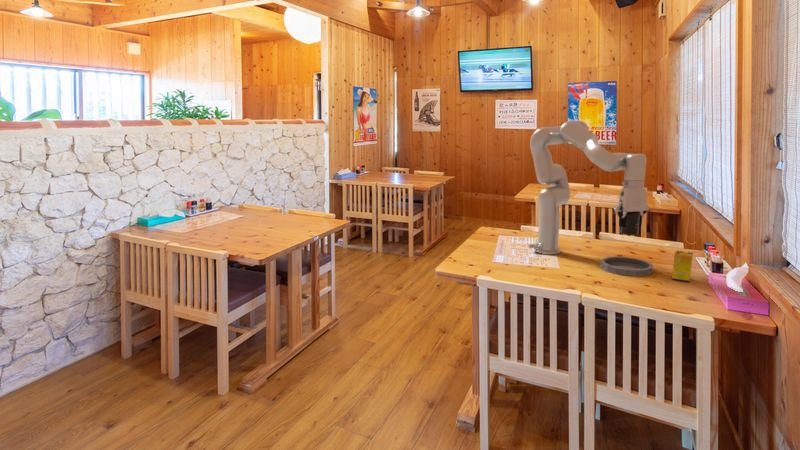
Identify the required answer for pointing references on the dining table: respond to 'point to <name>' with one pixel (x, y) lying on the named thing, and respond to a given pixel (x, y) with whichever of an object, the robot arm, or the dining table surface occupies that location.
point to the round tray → (626, 266)
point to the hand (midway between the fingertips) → (630, 225)
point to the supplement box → (682, 266)
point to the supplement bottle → (631, 223)
